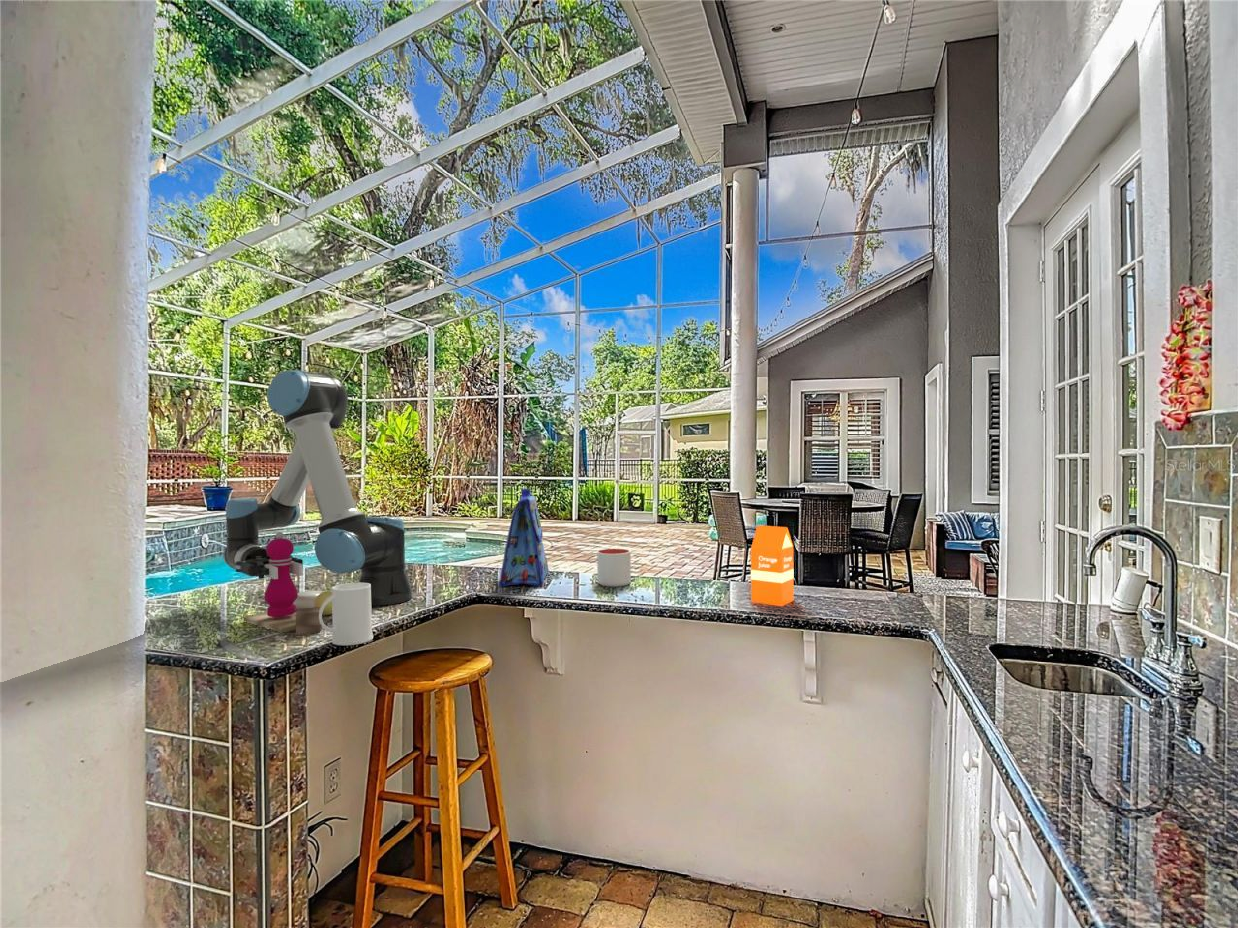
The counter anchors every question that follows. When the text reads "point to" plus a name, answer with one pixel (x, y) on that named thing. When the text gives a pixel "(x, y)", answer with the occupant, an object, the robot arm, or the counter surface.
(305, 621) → the walnut block
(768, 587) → the orange juice
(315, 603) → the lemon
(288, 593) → the pepper mill
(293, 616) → the serving board
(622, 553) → the cup
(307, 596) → the white rounded piece
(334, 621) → the mug
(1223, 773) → the counter surface
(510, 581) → the lunch bag
